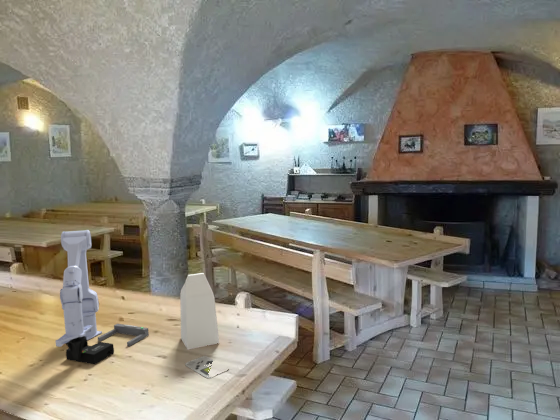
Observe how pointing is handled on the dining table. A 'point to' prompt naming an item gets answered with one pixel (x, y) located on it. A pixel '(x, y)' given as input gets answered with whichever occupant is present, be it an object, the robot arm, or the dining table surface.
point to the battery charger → (93, 353)
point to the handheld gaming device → (200, 365)
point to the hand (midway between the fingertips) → (77, 358)
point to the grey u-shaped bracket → (129, 330)
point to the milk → (198, 313)
